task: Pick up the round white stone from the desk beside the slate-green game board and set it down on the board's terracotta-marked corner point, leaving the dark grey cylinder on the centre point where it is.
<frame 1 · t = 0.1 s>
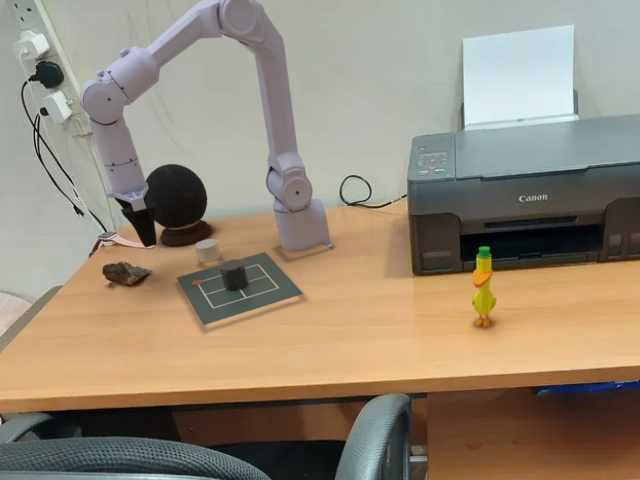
hand: (146, 238, 119), 10 cm above the table, tool pointing down, fingers open, 7 cm apart
black ball on stand: (186, 236, 145), on the table
game board: (238, 291, 121), on the table
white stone: (211, 262, 132), on the table
rock sample: (130, 282, 130), on the table
toy figure: (482, 325, 102), on the table
dark grey cylinder: (236, 285, 120), point 1 cm above the table, touching game board
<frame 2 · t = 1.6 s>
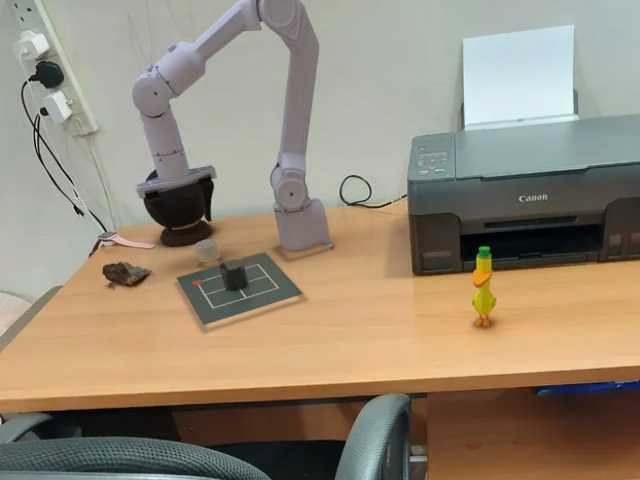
hand: (189, 225, 125), 9 cm above the table, tool pointing down, fingers open, 7 cm apart
nothing on the table moved.
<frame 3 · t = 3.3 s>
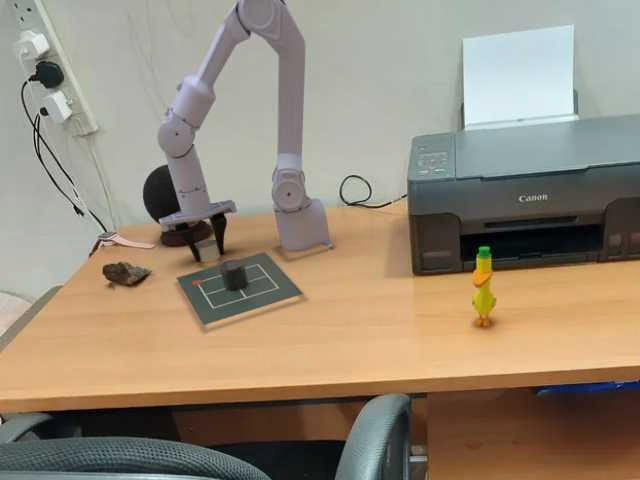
hand: (209, 256, 131), 1 cm above the table, tool pointing down, fingers closed on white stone, 4 cm apart
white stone: (211, 262, 132), on the table, touching gripper
everything else where it was.
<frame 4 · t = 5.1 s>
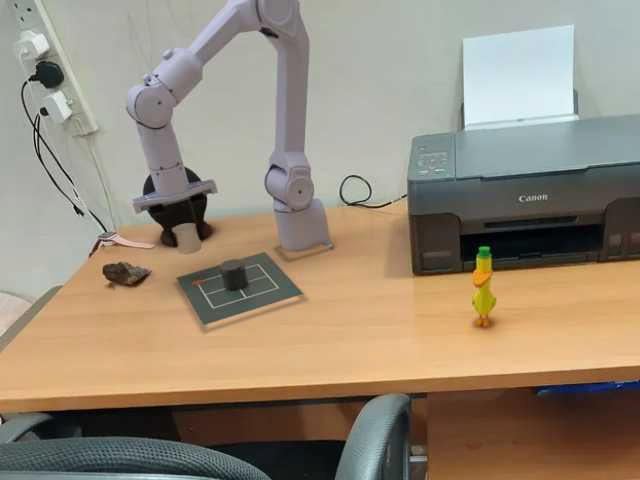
hand: (188, 241, 120), 8 cm above the table, tool pointing down, fingers closed on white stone, 4 cm apart
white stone: (190, 249, 121), point 7 cm above the table, touching gripper
everything else where it was.
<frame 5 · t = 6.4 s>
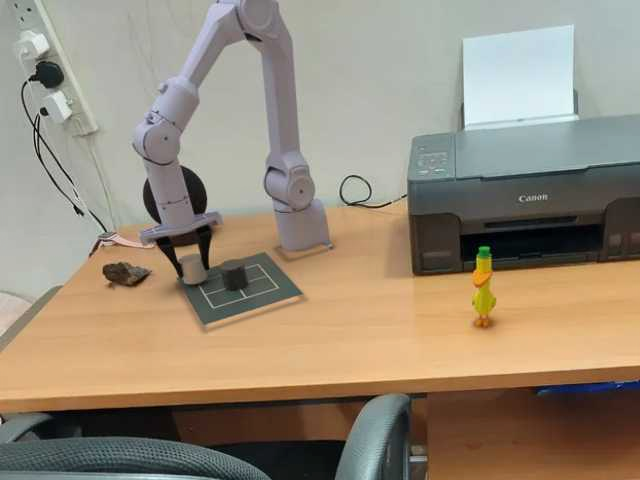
hand: (193, 271, 122), 3 cm above the table, tool pointing down, fingers closed on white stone, 4 cm apart
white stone: (195, 278, 122), point 2 cm above the table, touching gripper
everything else where it was.
when the fingers open (3 cm above the table, at t = 7.1 s): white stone stays where it is, resting on game board.
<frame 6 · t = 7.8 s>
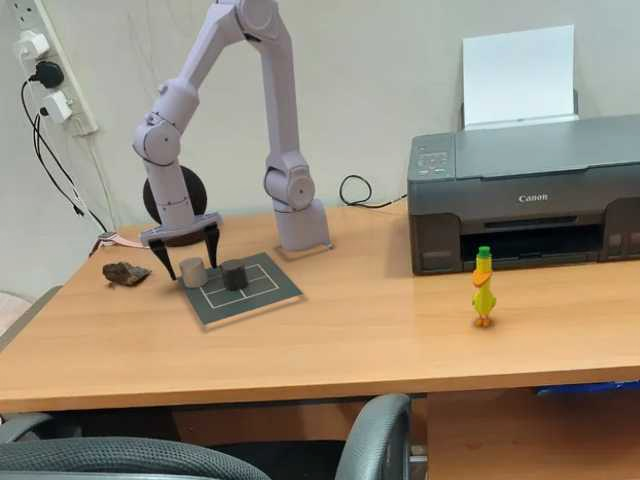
hand: (194, 272, 122), 3 cm above the table, tool pointing down, fingers open, 7 cm apart
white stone: (196, 282, 123), point 1 cm above the table, touching game board
everything else where it was.
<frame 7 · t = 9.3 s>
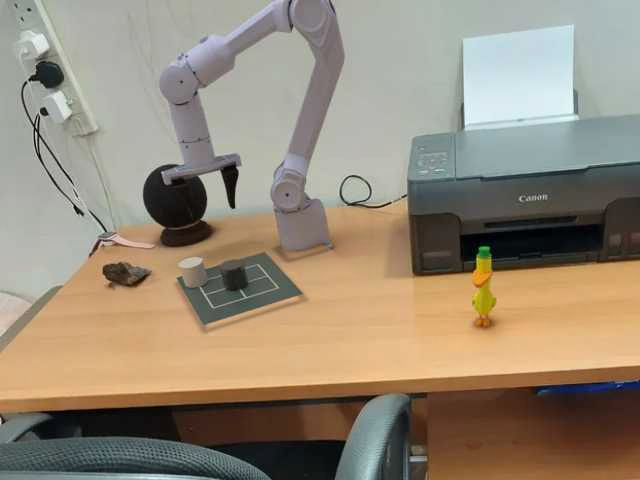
hand: (213, 212, 127), 9 cm above the table, tool pointing down, fingers open, 7 cm apart
nothing on the table moved.
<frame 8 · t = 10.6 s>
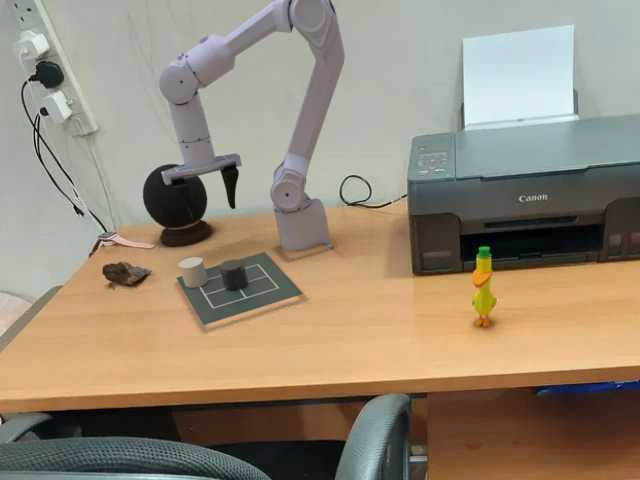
hand: (213, 212, 127), 9 cm above the table, tool pointing down, fingers open, 7 cm apart
nothing on the table moved.
at the end: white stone 0.1 cm from the target spot on the game board, point 1.3 cm above the game board's base; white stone tilted 0°; dark grey cylinder moved 0.1 cm from its start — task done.
